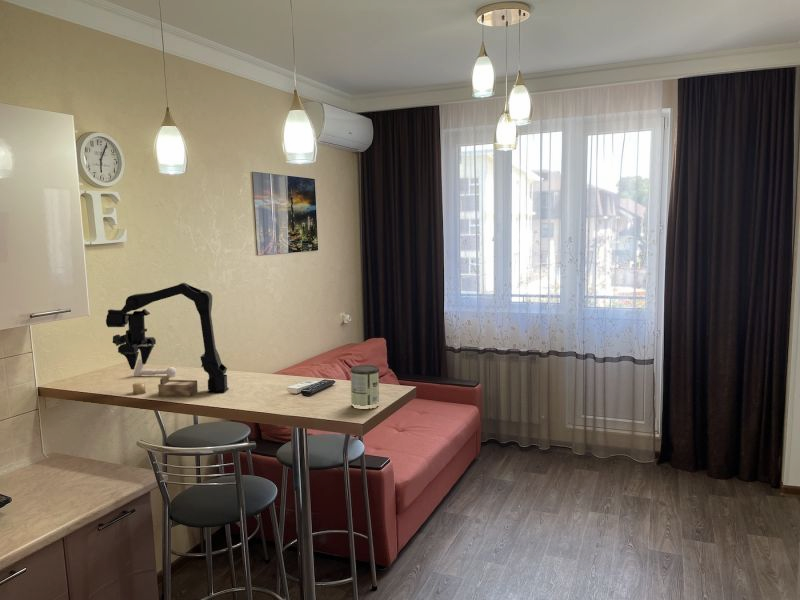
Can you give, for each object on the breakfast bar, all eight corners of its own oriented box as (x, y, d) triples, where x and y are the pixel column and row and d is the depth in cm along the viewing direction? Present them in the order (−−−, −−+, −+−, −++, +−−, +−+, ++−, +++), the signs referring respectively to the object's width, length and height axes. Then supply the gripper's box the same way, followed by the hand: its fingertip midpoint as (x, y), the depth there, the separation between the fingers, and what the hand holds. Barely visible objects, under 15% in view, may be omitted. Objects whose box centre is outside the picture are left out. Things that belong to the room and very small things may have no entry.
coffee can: (355, 401, 226) (355, 364, 224) (382, 403, 223) (382, 365, 222) (347, 408, 216) (346, 370, 214) (374, 411, 213) (374, 372, 212)
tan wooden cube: (148, 391, 236) (147, 383, 236) (139, 394, 232) (138, 385, 232) (139, 391, 238) (138, 382, 238) (130, 393, 234) (130, 385, 233)
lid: (196, 383, 237) (195, 375, 236) (190, 387, 231) (189, 379, 230) (166, 382, 237) (166, 375, 237) (159, 386, 231) (159, 379, 231)
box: (197, 391, 238) (197, 380, 237) (189, 396, 230) (189, 385, 229) (167, 390, 239) (167, 379, 238) (158, 396, 231) (158, 384, 230)
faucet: (171, 388, 261) (177, 367, 260) (131, 374, 260) (138, 353, 259) (174, 385, 265) (180, 364, 264) (135, 372, 264) (142, 351, 263)
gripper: (128, 323, 242) (130, 361, 244) (103, 330, 223) (105, 371, 225) (155, 323, 241) (157, 361, 243) (132, 331, 223) (134, 372, 224)
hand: (138, 366), depth 234 cm, fingers open, 9 cm apart
